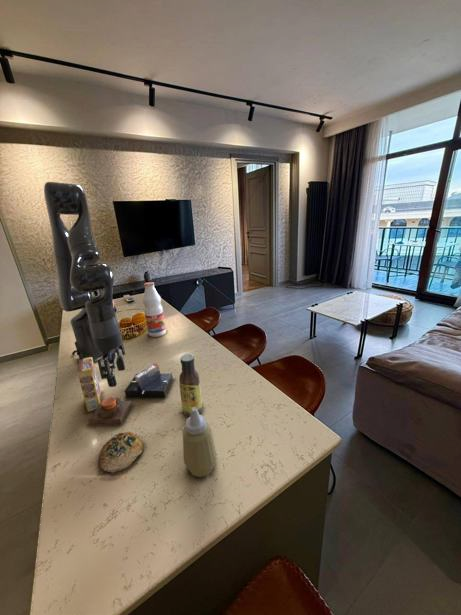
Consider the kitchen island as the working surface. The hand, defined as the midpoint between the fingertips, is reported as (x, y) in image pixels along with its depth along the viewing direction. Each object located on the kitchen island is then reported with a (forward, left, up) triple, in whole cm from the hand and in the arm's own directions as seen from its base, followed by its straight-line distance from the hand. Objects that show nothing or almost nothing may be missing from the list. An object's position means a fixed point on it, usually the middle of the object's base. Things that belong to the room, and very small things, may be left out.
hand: (117, 377), depth 81 cm
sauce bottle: (+24, -2, -12) cm, 26 cm away
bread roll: (+8, -18, -12) cm, 23 cm away
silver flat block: (+6, +9, -9) cm, 14 cm away
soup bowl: (-53, +82, -11) cm, 99 cm away
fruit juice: (-7, +55, -12) cm, 57 cm away
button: (-2, -4, -8) cm, 9 cm away
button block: (-2, -4, -12) cm, 12 cm away
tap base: (+6, +9, -12) cm, 16 cm away
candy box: (-12, +2, -12) cm, 17 cm away
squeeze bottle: (+30, -21, -12) cm, 38 cm away
